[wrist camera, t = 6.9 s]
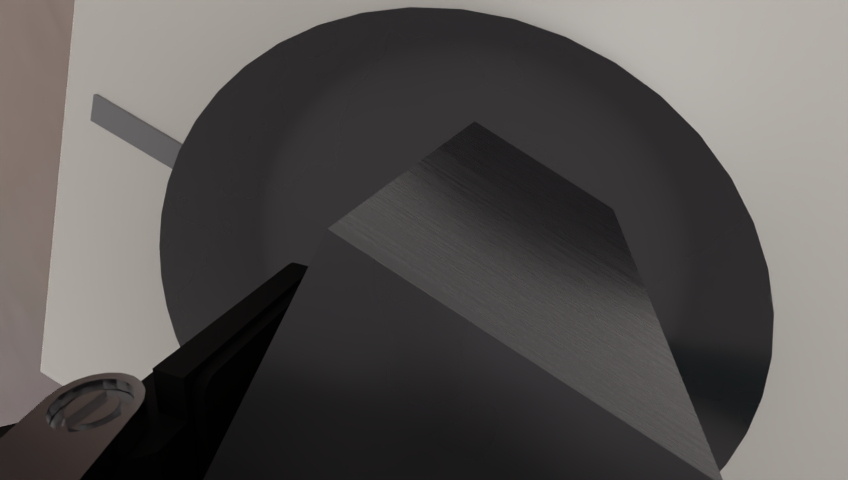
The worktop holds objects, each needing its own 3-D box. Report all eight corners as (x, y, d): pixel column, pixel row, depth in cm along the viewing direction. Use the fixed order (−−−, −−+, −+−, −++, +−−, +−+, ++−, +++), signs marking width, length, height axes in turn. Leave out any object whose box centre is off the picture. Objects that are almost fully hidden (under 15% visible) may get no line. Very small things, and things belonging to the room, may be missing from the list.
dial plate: (569, 644, 18) (570, 711, 17) (87, 343, 20) (37, 373, 18) (1342, 107, 8) (1588, 122, 6) (212, -461, 9) (123, -597, 7)
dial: (308, -122, 9) (-454, -697, 2) (917, 257, 9) (2312, 1000, 2) (157, 340, 15) (-169, 569, 8) (508, 575, 15) (468, 1019, 8)
